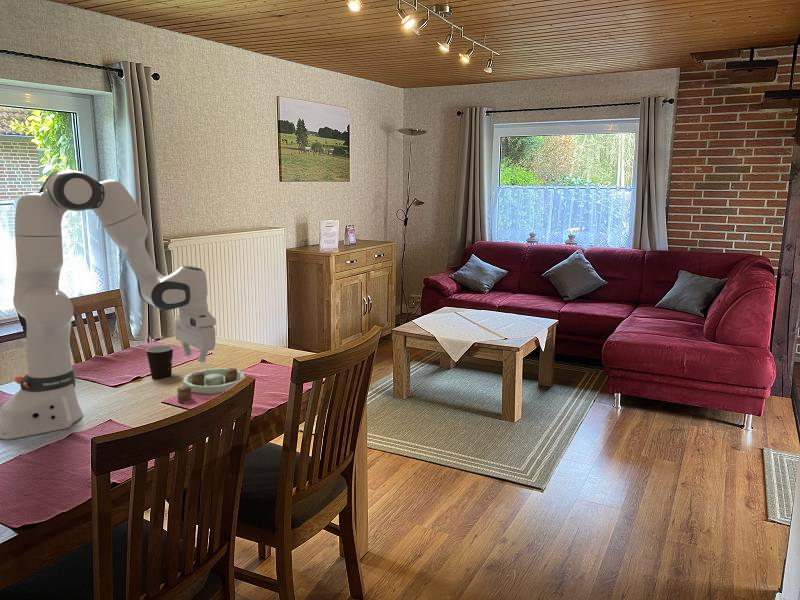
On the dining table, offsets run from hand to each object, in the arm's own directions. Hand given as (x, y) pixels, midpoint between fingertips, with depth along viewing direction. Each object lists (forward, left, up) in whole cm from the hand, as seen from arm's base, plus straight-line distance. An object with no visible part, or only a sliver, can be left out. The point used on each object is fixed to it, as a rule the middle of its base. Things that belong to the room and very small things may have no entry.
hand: (194, 358), depth 202 cm
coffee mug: (-1, +22, -11) cm, 25 cm away
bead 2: (+1, 0, -10) cm, 10 cm away
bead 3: (+10, -4, -10) cm, 15 cm away
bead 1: (-8, -7, -11) cm, 15 cm away
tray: (+6, 0, -11) cm, 13 cm away
